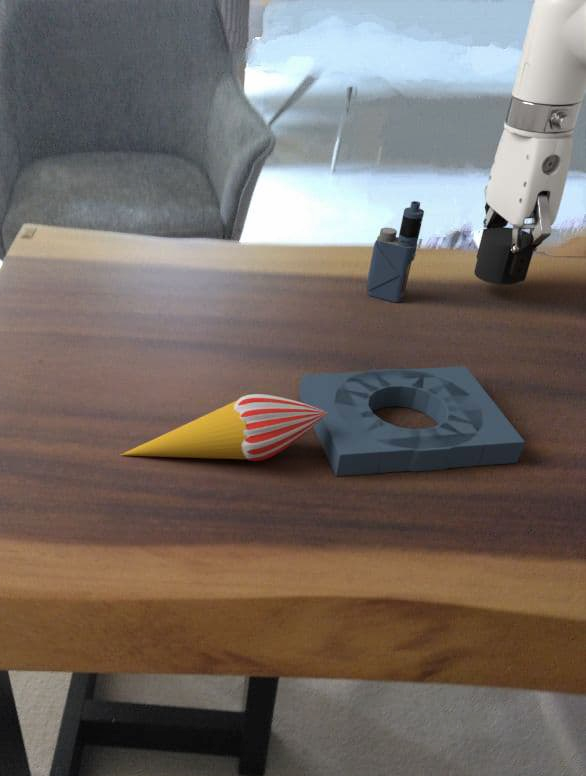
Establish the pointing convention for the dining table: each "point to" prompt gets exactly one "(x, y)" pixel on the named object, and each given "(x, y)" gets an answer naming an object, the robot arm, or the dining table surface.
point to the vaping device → (394, 256)
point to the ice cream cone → (238, 430)
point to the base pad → (402, 445)
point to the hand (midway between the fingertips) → (500, 268)
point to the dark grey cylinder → (494, 254)
